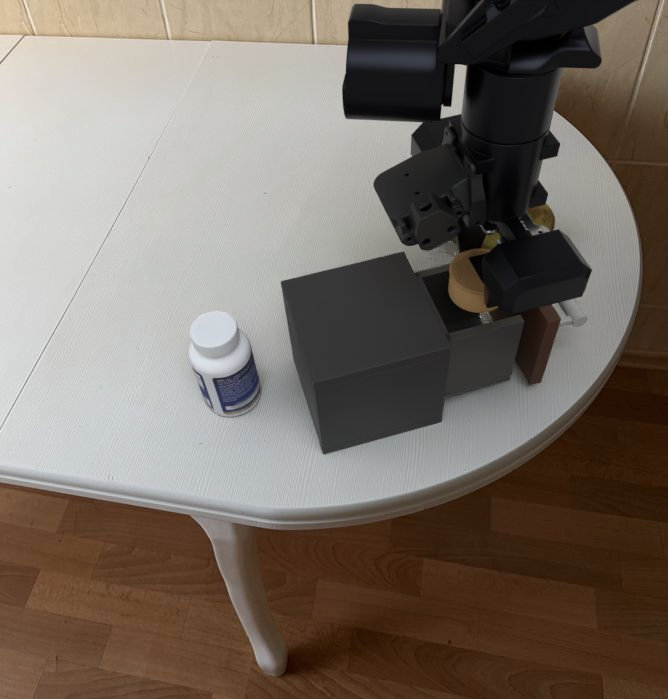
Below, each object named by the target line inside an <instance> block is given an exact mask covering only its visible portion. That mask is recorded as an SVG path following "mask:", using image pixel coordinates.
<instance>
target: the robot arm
mask: <svg viewBox="0 0 668 699" xmlns="http://www.w3.org/2000/svg"><path fill="white" fill-rule="evenodd" d="M638 1H639V0H441V8H419V7H418V8H416V7H415V8H414V7H413V8H412V7H386V6H384V5H383V6H382V5H379V4H374V3H354V4H353V5H352V6H351V9H350V13H349V16H348V21H347V35H348V36H347V38H348V39H347V48H346V59H345V73H344V77H343V82H342V85H341V86H342V87H341V95H342V96H341V97H342V99H341V100H342V110H343V115H344V118H345V119H346V120H356V121H357V120H359V121H360V120H361V121H378V122H379V121H380V122H400V123H401V122H404V123H421V124H420V125H418V127H417V128H415V130H414V131H413V132H412V133H411V137H410V155H411V156H410V157H408V158H407V159H405V160H403V161H401V162H399V163H397V164H395V165H393V166H391V167H390V168H388V169H386V170H384V171H382V172H381V173H380V174H378V175H377V176H376V177H375V178H374V180H373V189H374V191H375V193H376V195H377V197H378V199H379V201H380V203H381V205H382V207H383V209H384V211H385V213H386V215H387V217H388V219H389V221H390V224H391V225H392V228H393V229H394V231H395V233H396V236H397V237H398V239H399V241H400V243H401V244H402V245H404V246H406V247H414V246H418V247H419V249H420V250H421V251H426V252H427V251H428V252H429V251H433V250H434V249H437V247H440V246H442V245H443V244H445V243H447V242H451V240H452V239H453V238H455V240H456V248H457V252H458V254H459V253H461V252H464V251H468V250H472V249H480V248H481V246H482V244H483V242H484V239H485V237H486V235H492V234H496V233H499V235H500V236H501V238H498V241H497V245H496V246H495V247H494V248H493V249H492V250H491V251H490V252H488V253H484V254H480V255H476V256H472V257H469V258H468V259H469V260H470V262H471V264H472V266H473V267H474V269H475V271H476V273H477V274H478V276H479V278H480V280H481V281H482V283H483V284H484V299H485V305H486V307H487V308H492V307H496V306H498V308H499V310H500V311H502V312H505V313H508V314H511V315H513V314H517V313H521V312H524V311H528V310H532V309H536V308H540V307H544V306H548V305H551V304H552V305H556V304H558V303H559V302H563V301H567V300H571V299H574V298H575V299H578V298H582V297H583V295H584V294H585V292H586V289H587V287H588V283H589V280H590V278H591V274H592V272H593V269H592V268H591V266H590V264H588V262H587V260H586V259H585V258H584V256H583V255H582V253H581V252H580V250H579V249H578V248H577V246H576V245H575V244H574V242H573V241H572V240H571V238H570V237H569V235H567V233H565V232H563V231H562V230H560V229H559V228H557V229H553V231H550V230H549V229H548V228H547V227H545V226H543V225H536V224H535V223H534V222H533V220H532V219H531V217H530V216H529V214H528V213H527V211H528V209H530V208H534V207H538V206H542V205H546V204H547V200H548V197H549V192H548V191H547V190H546V189H545V187H544V185H543V184H542V183H541V181H540V180H539V178H540V174H541V170H542V164H543V161H544V160H547V159H552V158H556V157H558V155H559V151H560V146H561V142H560V141H559V140H558V138H557V137H556V136H555V135H554V134H553V133H552V131H551V130H550V129H551V126H552V120H553V116H554V112H555V107H556V102H557V99H558V98H557V97H558V94H559V88H560V85H561V80H562V76H563V71H564V69H588V70H589V69H591V70H595V69H598V68H599V67H601V65H602V63H603V57H602V50H601V45H600V44H601V42H600V38H599V37H600V36H599V29H598V28H597V27H596V26H595V25H597V24H599V23H601V22H602V21H604V20H606V19H607V18H609V17H611V16H613V15H615V14H616V13H618V12H619V11H621V10H623V9H626V7H628V6H630V5H632V4H633V3H636V2H638ZM456 65H459V66H460V65H461V66H462V65H463V66H464V65H465V66H466V67H465V76H464V86H463V96H462V104H461V105H462V106H461V113H459V114H454V115H451V116H445V117H442V107H446V108H448V107H449V108H452V103H453V93H454V83H455V82H454V81H455V70H456Z"/></svg>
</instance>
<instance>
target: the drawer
mask: <svg viewBox="0 0 668 699" xmlns="http://www.w3.org/2000/svg"><path fill="white" fill-rule="evenodd" d="M449 267H450V263H447V264H442V265H438V266H434V267H430V268H426V269H421V270H419V271H414V273H415V275H416V277H417V279H418V281H419V283H420V285H421V287H422V289H423V291H424V293H425V295H426V297H427V299H428V301H429V303H430V305H431V307H432V309H433V311H434V313H435V315H436V317H437V319H438V321H439V323H440V325H441V327H442V330H443V332H444V334H445V336H446V338H447V340H448V342H449V344H450V346H451V351H450V359H449V367H448V375H447V383H446V391H445V398H449V397H452V396H456V395H460V394H464V393H468V392H470V391H474V390H477V389H482V388H485V387H489V386H492V385H496V384H500V383H504V382H508V381H510V380H511V376H512V374H513V370H514V364H515V363H516V365H517V366H518V368H519V370H520V372H521V373H522V375H523V377H524V379H525V381H526V384H527V385H528V386H533V385H537V384H541V383H542V381H543V378H544V374H545V372H546V368H547V365H548V362H549V359H550V357H551V356H550V355H551V352H552V349H553V346H554V343H555V340H556V337H557V333H558V330H559V328H563V327H566V326H570V325H572V327H574V328H578V327H582V326H583V325H584V324H586V323H587V322H588V315H587V314H586V313H585V311H584V309H582V307H581V306H580V303H578V300H576V299H577V298H574V299H571V300H567V301H563V302H559V303H557V304H558V305H559V307H560V308H561V310H562V311H563V313H564V314H565V316H562V317H561V316H560V314H559V313H558V312H557V310H556V308H555V307H554V306H553V305H554V304H551V305H548V306H544V307H540V308H536V309H532V310H528V311H524V312H521V313H517V314H513V315H511V314H508V313H505V312H502V311H500V310H499V308H496V309H494V310H492V311H489V312H488V314H489V316H490V318H491V319H492V321H490V322H486V323H484V322H483V321H482V318H481V317H480V314H481V313H475V312H470V311H466V310H464V309H462V308H460V307H459V306H457V305H456V304H455V303H454V302H453V301H452V299H451V298H450V296H449V292H448V286H449V278H450V274H449Z"/></svg>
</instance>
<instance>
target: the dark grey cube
mask: <svg viewBox="0 0 668 699" xmlns="http://www.w3.org/2000/svg"><path fill="white" fill-rule="evenodd" d="M414 272H415V271H414V269H413V267H412V265H411V262H410V260H409V258H408V257H407V254H406V253H405V251H400V252H395V253H392V254H387V255H382V256H379V257H374V258H371V259H367V260H362V261H359V262H358V261H357V262H354V263H350V264H346V265H341V266H338V267H334V268H330V269H326V270H321V271H318V272H313V273H309V274H303V275H301V276H297V277H292V278H288V279H284V280H281V281H280V285H281V286H280V287H281V292H282V299H283V305H284V306H283V307H284V311H285V317H286V323H287V329H288V334H289V341H290V346H291V353H292V358H293V363H294V366H295V368H296V372H297V375H298V378H299V381H300V384H301V388H302V391H303V394H304V397H305V400H306V404H307V407H308V410H309V413H310V416H311V420H312V423H313V427H314V430H315V432H316V436H317V439H318V443H319V446H320V449H321V452H322V454H323V455H327V454H330V453H334V452H339V451H341V450H345V449H349V448H352V447H356V446H359V445H363V444H367V443H370V442H374V441H377V440H381V439H384V438H389V437H392V436H395V435H399V434H403V433H406V432H410V431H413V430H417V429H421V428H424V427H428V426H431V425H436V424H438V423H441V422H442V421H443V415H444V414H443V413H444V405H445V398H446V397H445V391H446V383H447V375H448V367H449V359H450V351H451V346H450V344H449V342H448V340H447V338H446V336H445V334H444V332H443V330H442V327H441V325H440V323H439V321H438V319H437V317H436V315H435V313H434V311H433V309H432V307H431V305H430V303H429V301H428V299H427V297H426V295H425V293H424V291H423V289H422V287H421V285H420V283H419V281H418V279H417V277H416V275H415V273H414Z"/></svg>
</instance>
